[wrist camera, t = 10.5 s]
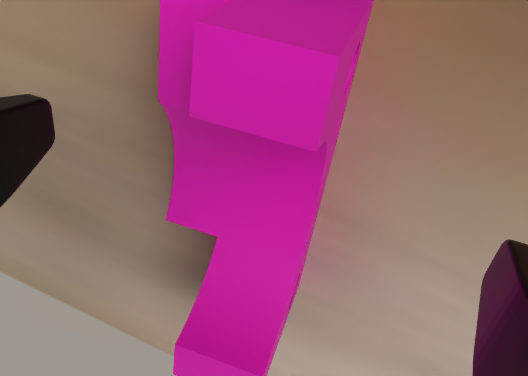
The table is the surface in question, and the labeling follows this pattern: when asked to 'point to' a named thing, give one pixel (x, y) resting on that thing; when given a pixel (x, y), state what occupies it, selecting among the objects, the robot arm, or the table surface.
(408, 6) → the table surface
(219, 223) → the toy block
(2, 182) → the robot arm
